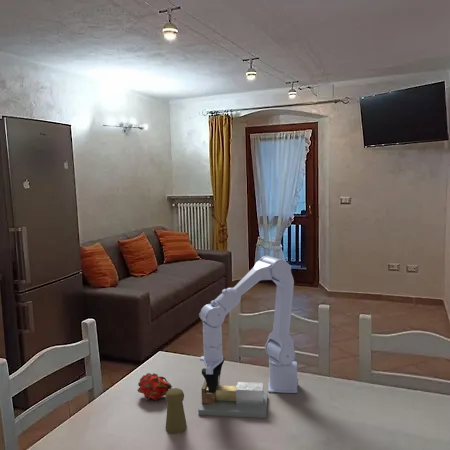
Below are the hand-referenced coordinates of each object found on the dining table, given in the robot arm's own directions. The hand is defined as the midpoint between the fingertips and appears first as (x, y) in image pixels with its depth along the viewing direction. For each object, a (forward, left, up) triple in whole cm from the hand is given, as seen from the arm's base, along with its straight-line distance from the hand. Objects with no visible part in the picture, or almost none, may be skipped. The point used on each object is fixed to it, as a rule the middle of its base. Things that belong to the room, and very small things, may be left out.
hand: (214, 386), depth 133 cm
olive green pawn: (+9, +13, -6) cm, 17 cm away
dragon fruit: (+20, -3, -6) cm, 21 cm away
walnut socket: (+2, 0, -4) cm, 5 cm away
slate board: (-6, 0, -6) cm, 8 cm away
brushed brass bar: (-4, 0, -4) cm, 6 cm away
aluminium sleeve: (-11, 0, -4) cm, 12 cm away
